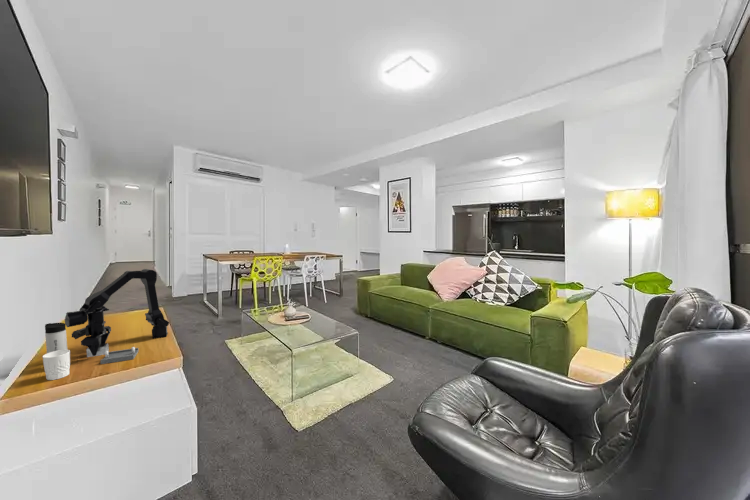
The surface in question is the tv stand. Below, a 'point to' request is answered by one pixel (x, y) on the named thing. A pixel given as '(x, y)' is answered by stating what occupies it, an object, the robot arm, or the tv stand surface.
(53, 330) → the travel mug
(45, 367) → the white cup
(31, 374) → the tv stand surface
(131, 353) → the tray
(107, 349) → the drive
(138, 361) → the tv stand surface
